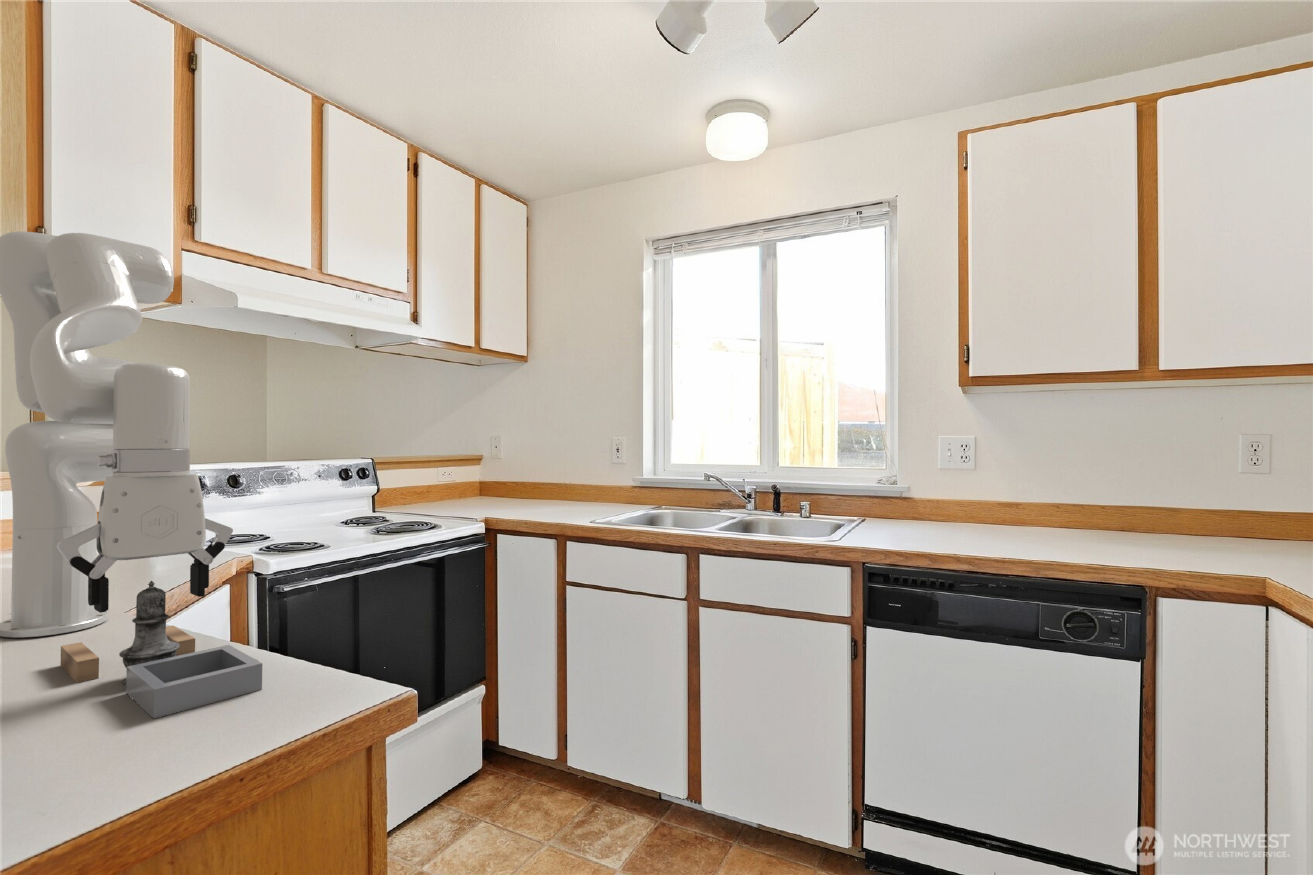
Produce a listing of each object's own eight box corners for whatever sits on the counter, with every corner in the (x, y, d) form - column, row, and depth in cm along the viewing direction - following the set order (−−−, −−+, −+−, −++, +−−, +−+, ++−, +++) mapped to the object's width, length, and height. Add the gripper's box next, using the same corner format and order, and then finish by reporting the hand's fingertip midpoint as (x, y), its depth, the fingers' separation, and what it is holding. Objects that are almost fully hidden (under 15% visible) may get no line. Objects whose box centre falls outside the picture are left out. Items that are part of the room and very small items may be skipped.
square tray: (126, 693, 74) (126, 666, 74) (228, 668, 82) (228, 644, 82) (154, 718, 68) (154, 689, 68) (261, 689, 76) (262, 663, 76)
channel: (60, 665, 83) (60, 646, 83) (172, 642, 92) (173, 625, 92) (77, 682, 77) (77, 661, 77) (194, 656, 87) (195, 638, 87)
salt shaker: (145, 689, 75) (147, 587, 75) (105, 684, 77) (107, 584, 77) (191, 671, 81) (193, 577, 81) (153, 667, 82) (155, 574, 82)
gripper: (65, 466, 70) (64, 622, 70) (242, 463, 84) (242, 593, 84) (51, 465, 75) (50, 612, 75) (221, 462, 89) (220, 586, 88)
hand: (151, 602), depth 79 cm, fingers open, 9 cm apart
